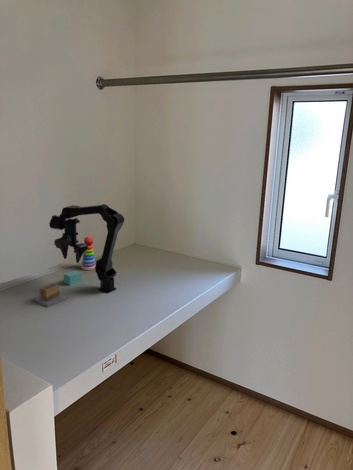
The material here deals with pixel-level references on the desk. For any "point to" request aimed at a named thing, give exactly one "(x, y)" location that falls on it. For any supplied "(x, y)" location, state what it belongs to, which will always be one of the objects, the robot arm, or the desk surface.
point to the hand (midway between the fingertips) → (71, 260)
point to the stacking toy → (88, 255)
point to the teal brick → (72, 277)
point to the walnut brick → (49, 292)
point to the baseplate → (50, 302)
